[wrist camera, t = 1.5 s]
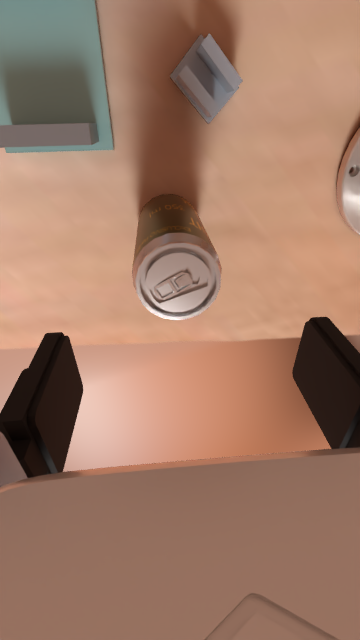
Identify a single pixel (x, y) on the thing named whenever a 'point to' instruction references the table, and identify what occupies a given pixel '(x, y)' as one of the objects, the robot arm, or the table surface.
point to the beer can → (174, 260)
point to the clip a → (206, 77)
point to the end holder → (52, 77)
